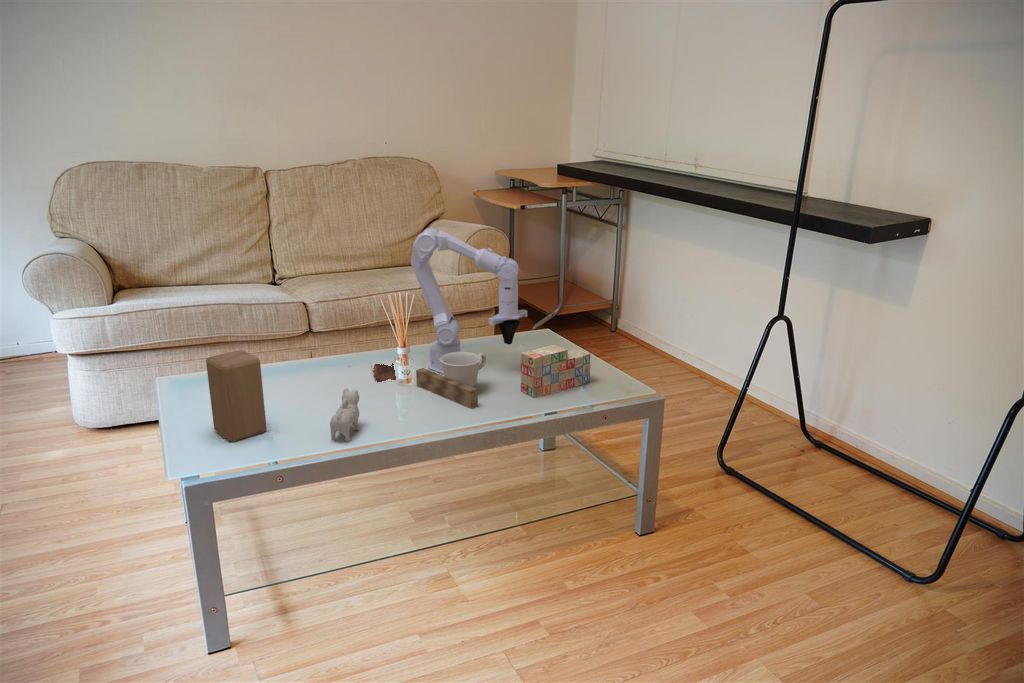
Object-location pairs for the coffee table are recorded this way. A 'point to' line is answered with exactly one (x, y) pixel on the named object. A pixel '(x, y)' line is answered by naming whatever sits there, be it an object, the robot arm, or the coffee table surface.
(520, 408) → the coffee table surface
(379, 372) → the wooden tablet
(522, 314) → the robot arm
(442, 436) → the coffee table surface
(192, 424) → the coffee table surface
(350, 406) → the grey animal figure
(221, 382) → the wooden block
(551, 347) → the stack of blocks
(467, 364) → the teacup
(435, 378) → the walnut board
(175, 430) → the coffee table surface
